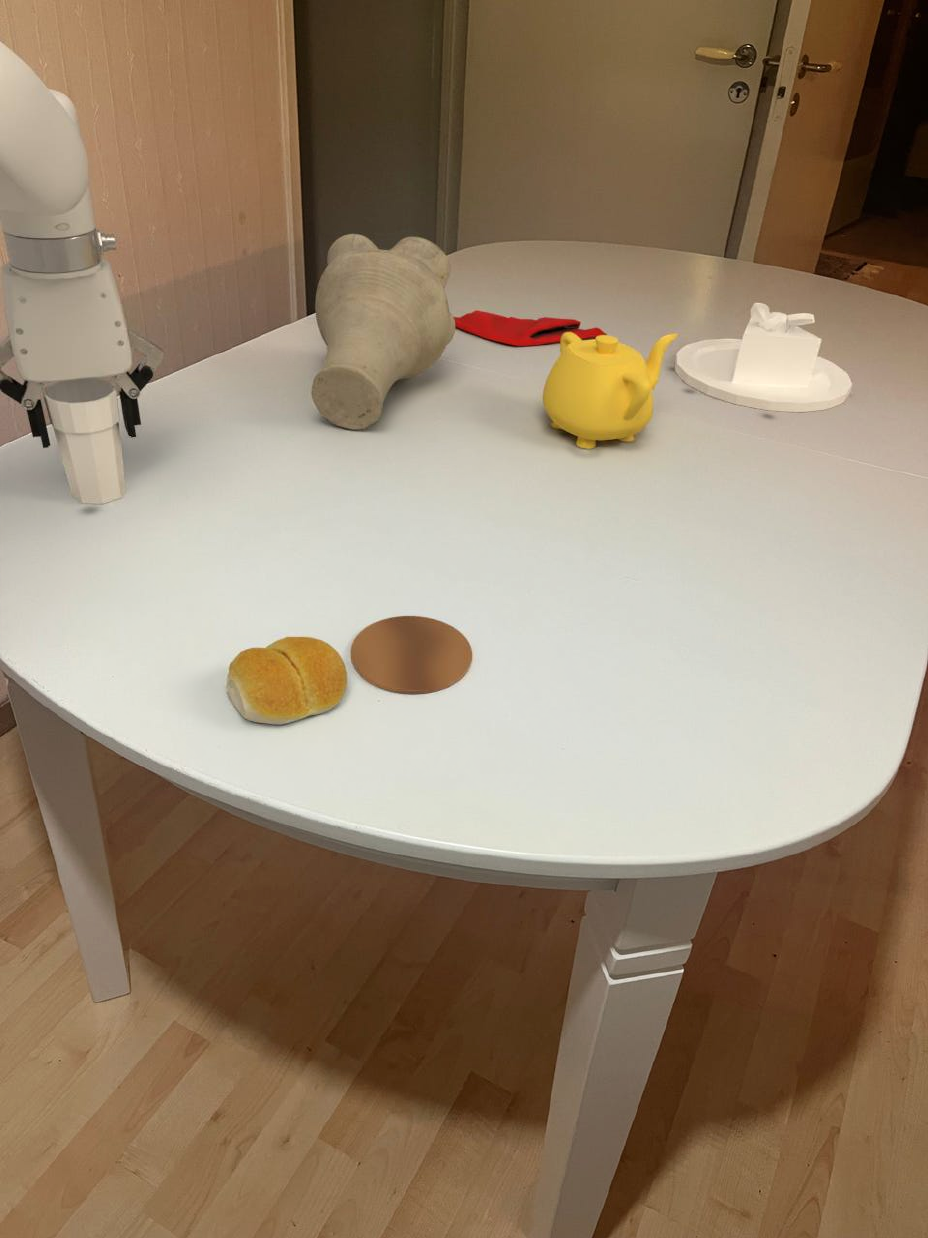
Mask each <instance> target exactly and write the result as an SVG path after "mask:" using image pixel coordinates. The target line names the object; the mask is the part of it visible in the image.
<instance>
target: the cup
mask: <svg viewBox="0 0 928 1238" xmlns="http://www.w3.org/2000/svg"><path fill="white" fill-rule="evenodd" d="M42 390H43V391H42V396H43V399H44V404H45V407H46V410H47V415H48V418H49V423H50V424H51V426H52V427H53V430H54V434H55V438H56V441H57V446H58V448H59V453H60V456H61V459H62V464H63V466H64V470H65V474H66V477H67V481H68V485H69V489H70V494H71V497H73V498H74V499H76V500H77V501H78V502H80V503H81V504H88V505H89V504H90V505H91V504H93V505H104V504H107V503H109V502H112V501H116V500H118V499H122V497H123V495H124V494H125V491H126V489H127V486H126V480H125V470H124V461H123V450H122V442H121V441H122V440H121V432H120V424H119V423H120V422H119V421H120V409H119V400H118V391H117V390H118V389H117V386H116V384H114V382H113V381H111V380H108V379H105V378H93V379H82V380H72V381H61V382H51V383H49V385H47V386H45V387H43V389H42Z"/></svg>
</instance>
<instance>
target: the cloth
mask: <svg viewBox="0 0 928 1238" xmlns="http://www.w3.org/2000/svg"><path fill="white" fill-rule="evenodd" d="M453 318H454V321H455V328H457V329H460V330H462V331H465V332H468V333H470V334H473V335H476V336H478V337H481V338H484V339H487V340H491V341H494V342H497V343H501V344H505V345H511V346H517V347H525V346H526V347H527V346H539V345H546V344H547V345H548V344H557V343H560V341H561V336H562V335H563V334H564V333H565V332H572V333H574V334H576V335H577V336H578V337H579V338H580V339H581V340H588V339H594V338H595V339H596V337H597V336H600V335H608V334H607V333H606V332H604V331H603V330H602V329H601V328H599V327H597V326H596V327H591V328H588V329H587V328H586V329H584V328H583V329H581V328H580V326H581V324H582V322H581V321H580V320H577V319H573V318H558V317H546V316H544V317H539V318H537V319H533V318H518V317H514V316H509V317H507V316H505V315H500V314H496V313H492V312H488V311H482V310H474V311H472V312H467V313H465V314H464V315H462V316H460V317H458V316H453Z"/></svg>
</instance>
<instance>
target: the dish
mask: <svg viewBox="0 0 928 1238" xmlns="http://www.w3.org/2000/svg"><path fill="white" fill-rule="evenodd" d="M749 313H750V319H749V322H748V323H747V326H746V327H745V330H744V332H743V334H742V339H741V338H715V339H704V340H699V341H696V342H692V343H689V344H686V345H684V346H683V347H682V348H681V349H680V350H678V351H677V352H676V353H675V357H674V372H675V374H676V375H677V376H678V377H679V378H680V379H681V380H682V381H683V383H684V384H686V385H688V386H690V387H692V388H693V389H695V390H697V391H699V392H701V393H703V394H705V395H706V396H709V397H713V398H715V399H718V400H721V401H724V402H727V403H729V404H734V405H737V406H742V407H748V408H752V409H757V410H763V411H769V412H771V411H772V412H786V413H787V412H789V413H808V412H819V411H827V410H829V409H832V408H834V407H837V406H839V405H842V404H844V403H845V401H846V400H847V398H848V397H849V395H850V394H851V391H852V387H853V382H852V381H851V378H850V376H849V374H848V372H846V371H845V370H843V369H842V368H841V367H839V366H838V365H837V364H835V363H834V362H832V361H830V360H828V359H826V358H824V357H821V356H819V355H818V354H819V350H820V347H821V344H822V340H823V339H822V338H820V337H818V336H816V335H815V334H812V333H810V332H809V331H807V330H805V329H803V328H801V327H799V326H802V325H810V324H815V315H814V314H812V313H807V312H802V313H801V312H800V313H799V312H798V313H793V314H788V315H787V314H786V313H783V312H780V311H772V312H771V311H770V306H768V305H766V304H765V303H762V302H754V303H753V304H752V306H751V308H750V312H749Z"/></svg>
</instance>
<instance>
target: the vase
mask: <svg viewBox="0 0 928 1238" xmlns="http://www.w3.org/2000/svg"><path fill="white" fill-rule="evenodd" d="M326 258H327V259H326V261H327V265H326V268H325V269H324V270H323V272H322V274H321V276H320V279H319V280H318V284H317V288H316V294H315V304H314V305H315V306H314V308H315V319H316V324H317V327H318V331H319V334H320V336H321V338H322V340H323V342H324V344H325V346H326V347H327V348H326V350H327V351H326V355H325V360H324V364H323V366H322V367H321V369H320V370H319V371H318V373H317V374H316V376H315V377H314V379H313V382H312V387H311V398H312V400H313V403H314V405H315V407H316V409H317V411H318V412H319V413H320V414H321V415H322V416H323V417H324V418H325V419H327V420H328V422H330V423H331V424H333V425H335V426H337V427H340V428H344V429H348V430H352V431H354V430H362V429H363V430H364V429H366V428H368V427H369V426H371V425H374V424H376V422H377V421H379V420H380V418H381V416H382V413H383V408H384V407H383V406H384V402H385V400H386V397H387V395H388V393H389V391H390V390H391V388H392V386H393V385H394V384H395V382H397V381H400V380H406V379H409V378H413V377H415V376H417V375H419V374H421V373H423V372H425V371H426V370H428V369H430V367H432V366H433V365H434V364H435V363H436V362H437V361H438V360H439V359H440V358H441V356H442V355H443V353H444V352H445V349H446V348H447V346H448V345H449V344H450V343H451V342H452V341H453V338H454V337H455V333H456V327H455V321H454V318H453V317H454V316H453V314H452V313H451V311H450V305H449V300H448V296H447V294H446V293H447V292H446V291H445V288H446V287H447V283H448V281H449V278H450V275H451V271H452V266H451V262H450V260H449V258H448V256H447V255H446V253H445V252H444V251H443V250H442V249H441V248H440V247H439V246H438V245H437V244H435V243H434V242H433V241H430V240H429V239H426V238H424V237H421V236H405V237H404V238H402V239H400V240H399V241H398V242H397V243H396V244H395V245H394V246H393V247H392V248H390V249H380V248H379V247H378V246H377V245H376V244H374V242H373V241H372V240H371V239H369V238H368V237H367V236H365V235H362V234H358V233H348V234H344V235H342V236H340V237H338V238H337V239H336V240H335V241H333V243H332V244H331V246H330V247H329V249H328V252H327V257H326Z"/></svg>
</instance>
